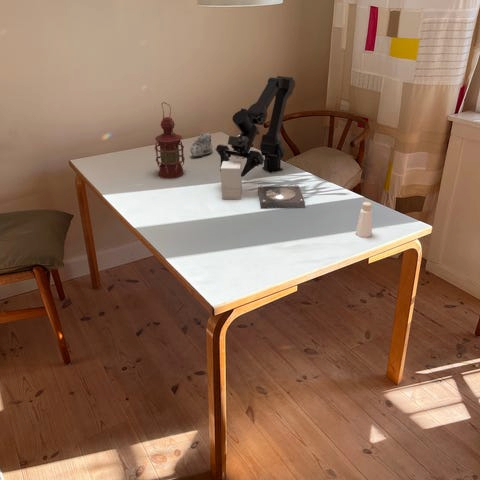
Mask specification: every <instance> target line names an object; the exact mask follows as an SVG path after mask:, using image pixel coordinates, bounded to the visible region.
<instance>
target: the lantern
mask: <svg viewBox="0 0 480 480" xmlns="http://www.w3.org/2000/svg"><path fill="white" fill-rule="evenodd" d="M163 104H165V105H167V106H168V107H169V116H165V111H164V106H163ZM161 109H162V120H161V121H160V125H159V126H160V128H161V129H162V131H163V133H161V134H159V135H157V136H156V137H155V141H156V143H155V146H154V150H155V153H156V154H155V155H156V157H155V162H156V164H157V166H158V168H159V172H158V177H161V178H163V179H178V178H180V177H182V176H183V175H184V174H185V173H184V169H183V166H184V165H185V155H184V148H185V146H184V145H183V142H182V141H181V140H182V139H183V136H181V135H180V134H177V133H175V132H174V128H175V125H176V124H175V121H174V120H173V118H172V117H171V115H172V107H171V105H170V104H169V103H167V102H165V101H163V102H162V103H161ZM179 146H180V147H179ZM158 147H159V149H158ZM180 151H181V152H180ZM158 152H159V153H158ZM180 153H181V154H180ZM159 154H160V156H159ZM180 158H181V160H180ZM159 159H160V161H159Z"/></svg>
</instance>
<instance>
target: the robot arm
mask: <svg viewBox="0 0 480 480" xmlns="http://www.w3.org/2000/svg"><path fill="white" fill-rule="evenodd" d="M295 87H296V81H295V80H294V78H293V77H292V76H283V75H277V76H276V77H273V76H272V77H269V78H268V80H267V83H266V85H265V87H264V89H263V91H262V92H261V94H260V96H259V97H258V99H257V101H255V102H254V103H253V104H251V105H249V108H248V109H246V108H241V109H240V110H239V111H237V112H235V113H234V114H233V116H232V119H231V120H232V122H233V124H234V125H235V126H236V127H237V129H238V131H240V134H239V135H240V136H238V135H236V136H233V135H229V137H228V141H227V145H225V144H217V146H216V148H215V151H216V152H217V154H218V155H219V156H220V157H219V158H220V166H219V167H220V168H221V165H222V162H223V161H230V158H231V156H235V157H236V156H239V157H244V158H243V159H245V158H246V162H245V164H244V167H243V170H242V174H241V176H242V178H243V177H245V176H246V175H247V174H248V173H249V172H250V171H252V170H253V169H254V168H256V167H259V166H262V165H263V167H262V169H263V170H264V171H266V172H268V173H276V172H279V171H284V170H283V168H282V167H281V164H282V163H281V161H282V158H284V156H285V149H284V147H283V146H282V142H283V141H282V138H281V135H280V134H281V133H280V132H281V128H282V125H283V124H282V123H283V119H284V114H285V109H286V105H287V101H288V99H289V98H290V97H291V96H292V95H293V92H294V89H295ZM273 100H274V101H273ZM272 101H273V102H274V103H273V108H272V113H271V116H270V117H271V118H270V121H269V126H268V131H266V133H265V134H262V136H261V141H260V144H259V145H260V146H259V148H260V149H259V150H260V151H258V150H251V148H252V149H253V148H254V144H253V143H254V141H255V139H256V137H257V135H260V130H259V127H257V126H263V125H264V124H265V123H266V121H267V118H268V109H269V107H270V105H271V104H272ZM228 145H229V146H231V148H232V149H230V148H229V147H228ZM220 168H219V171H220V173H221V169H220Z"/></svg>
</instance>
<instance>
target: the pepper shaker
mask: <svg viewBox="0 0 480 480" xmlns="http://www.w3.org/2000/svg"><path fill="white" fill-rule="evenodd" d="M372 228H373V210H372V202H369V201H364V202H362V208H361V209H360V212H359V217H358V221H357V226H356V229H355V230H356V231H355V236H358V237H359V238H369V237H372V234H373V232H372V231H373V229H372Z"/></svg>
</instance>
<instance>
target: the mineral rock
mask: <svg viewBox="0 0 480 480" xmlns="http://www.w3.org/2000/svg"><path fill="white" fill-rule="evenodd" d="M189 150H190V154H191V156H192V157H202V156H205V155H207V154H211V153H213V151H214V150H213V145H212V136H211V133H209V132H206V133H204V132H201V134H199V136H198V138H197V139H196V140H194V142H193V143H192V145H191V147H190V148H189Z"/></svg>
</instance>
